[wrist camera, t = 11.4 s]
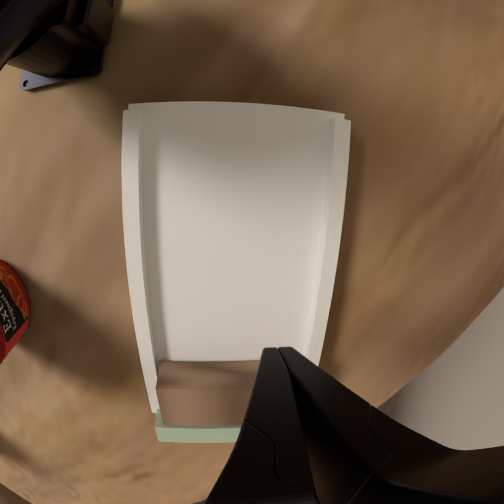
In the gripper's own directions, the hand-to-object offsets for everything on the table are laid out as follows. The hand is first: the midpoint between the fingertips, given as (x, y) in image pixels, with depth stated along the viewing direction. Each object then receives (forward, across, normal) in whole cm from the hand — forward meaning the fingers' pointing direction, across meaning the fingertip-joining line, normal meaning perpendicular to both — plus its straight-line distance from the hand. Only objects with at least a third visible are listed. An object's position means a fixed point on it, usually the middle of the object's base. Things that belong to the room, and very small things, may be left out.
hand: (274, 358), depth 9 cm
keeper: (+11, 0, +11) cm, 15 cm away
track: (+12, 0, +3) cm, 12 cm away
